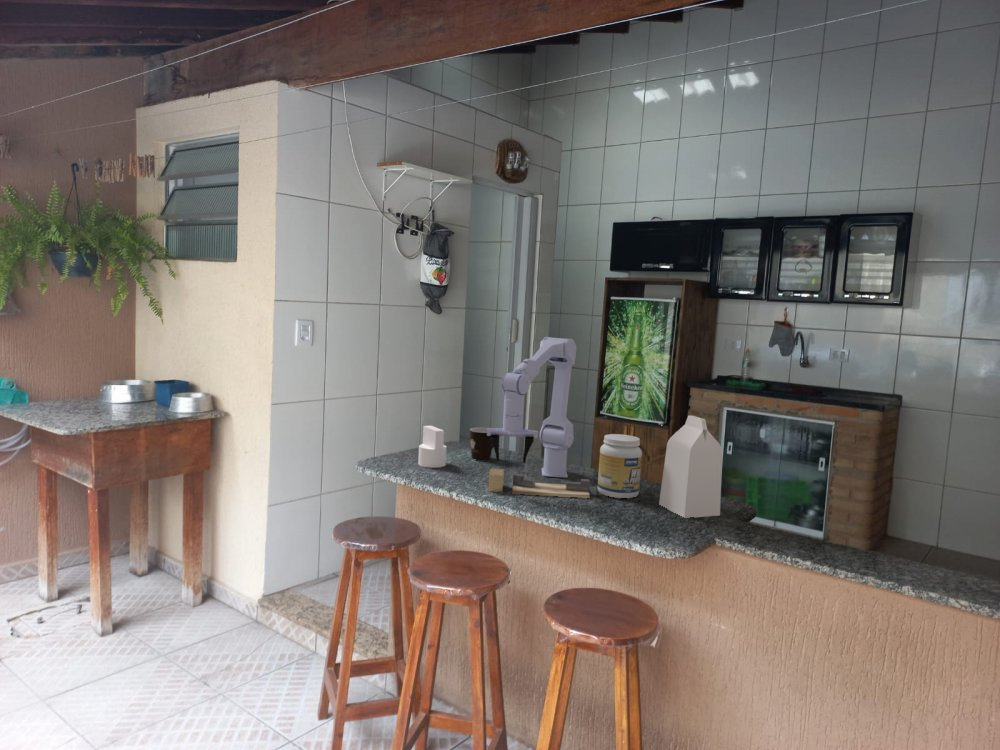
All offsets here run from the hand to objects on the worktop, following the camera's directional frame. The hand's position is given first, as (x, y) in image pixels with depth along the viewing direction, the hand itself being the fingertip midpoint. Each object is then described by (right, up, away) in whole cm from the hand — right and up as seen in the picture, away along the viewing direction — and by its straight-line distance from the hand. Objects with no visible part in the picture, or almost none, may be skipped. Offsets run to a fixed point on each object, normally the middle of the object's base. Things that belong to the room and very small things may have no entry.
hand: (510, 461), depth 200 cm
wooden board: (+12, -9, +3) cm, 15 cm away
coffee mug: (-10, -4, +37) cm, 39 cm away
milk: (+49, -13, -9) cm, 51 cm away
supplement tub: (+32, -10, +4) cm, 33 cm away
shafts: (+12, -8, +3) cm, 15 cm away
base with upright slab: (-26, -5, +28) cm, 38 cm away
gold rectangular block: (-4, -8, +3) cm, 10 cm away
